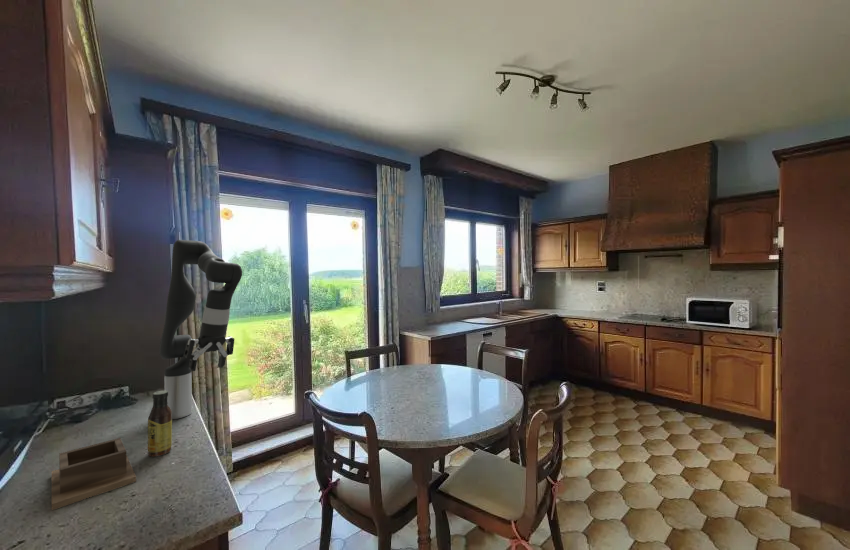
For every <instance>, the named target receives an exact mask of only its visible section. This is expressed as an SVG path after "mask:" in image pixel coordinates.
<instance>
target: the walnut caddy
mask: <svg viewBox="0 0 850 550" xmlns="http://www.w3.org/2000/svg"><path fill="white" fill-rule="evenodd" d="M58 460H59V461H58V462H59V463H58V464H59V466H58V467H59V468H58V469H55V470H51V511H54V510H56V509H60V508H62V507H66V506H69V505H72V504H74V503H78V502H81V501H84V500H87V499H89V497H90V498H92V496H93V497H96V496H98V495H101V494H105V493H107V492H110V491H114V490H115V489H118V488H121V487H125V486H128V485H131V484H133V482H134V483H136V482H137V475H136V474H135V471H134V469H133V466H132V464H131V462H130V460H129V457H128V455H127V450H126V448H125V445H124V443H123V441H122V438H121V437H118V438H114V439H110V440H106V441H102V442H99V443H95V444H94V443H93V444H90V445H87V446H84V447H79V448H75V449H71V450H67V451H63V452H60V453H59V458H58ZM86 498H87V499H86ZM83 499H84V500H83Z"/></svg>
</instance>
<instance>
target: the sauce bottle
mask: <svg viewBox="0 0 850 550" xmlns="http://www.w3.org/2000/svg"><path fill="white" fill-rule="evenodd" d="M167 397H168V391H166V390H165V389H163V390H157V391H155V392H152V399H153V400H152V402H153V404H152V408H151V410H150V412H149V416H148V419H147V453H148V456H149V457H153V458H155V457H160V456H163V455H166V454H168V453H170V452H171V449H172V443H173V441H172V440H173V419H172V411H171V409H170V407H169V406H168V405H167V404H168V402H167Z"/></svg>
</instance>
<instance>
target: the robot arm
mask: <svg viewBox="0 0 850 550" xmlns="http://www.w3.org/2000/svg"><path fill="white" fill-rule="evenodd" d="M185 265H197V266H198V269H199V270H200V271H202V272H203V273H204V274H205V278H206V280H207V281H209V282H211V283H215V284H216V283H218V284H219V283H220V284H224V285H223V286H222V287H219V288H215V289H210V290H209V291H208V293H207V298H206V303H205V308H204V311H203V314H202V319H201V325H200V330H199V337H198V338H196V339H195V338H194V339H193V338H192V336H191V335H190V334H180V335H179V334H177V335H176V332H177V330H178V329H179V328H180V326H181V325H182V324H183V323H185V321H186V320H187V319H188V318H189V317H190V316H191V315H192V314H193V312H194V310H195V305H196V298H197V294H196V291H195V289H194V287H193V286H192V285H191V283H190V281H189V280H188V278H187V276H186V275H185V272H184V268H185V267H184V266H185ZM242 269H243V268H242V267H241V265H240V264H238V263H234V262H227V261H225V260H224V259H223V258H221V257H220V256H217V255H216V254H215V252H213V251H212V249H211V248H210V246H209V245H208V244H207V243H205V242H204V241H200V240H191V239H190V240H188V239H187V240H185V239H177V240H176V241H175V242H174V244H173V248H172V256H171V275H170V282H169V289H168V293H167V294H168V295H167V301H166V308H165V309H166V311H165V318H164V319H165V321H164V325H163V329H162V334H161V338H160V343H159V355H160V357H161V359H162V360H170V359H171V360H172V359H178V358H179V360H178V361H176V362H175V363H173V364H171V365H169V366H167V367H165V368H164V372H163V373H164V374H163V375H164V381H163V382H164V390H166V391H168V397H167V402H168V404H167V405H168V406H169V407H170V409H171V411H172V420H177V419H181V418H185V417H187V416H189V415H192V411H193V410H192V405H193V404H192V403H193V401H192V397H193V395H192V394H193V393H192V385H193V384H192V375H193V374H192V372H195V371H196V370H197V364H198V359H199V358H200V356H202V355H203V354H204V353H205V352H206V353H211V352H218V353H219V354H220V355H219V357H218V360H217V361H218V362H217V367H218V368H219V369H221V368H224V366H225V365H226V360H227V357H228V356H232V355H233V354H234V348H235V347H234V346H235V338H234V337H233V336H227V331H228V324H229V321H230V310H231V304H232V300H233V299H232V298H233V296H234V293H235V291H236V290H237V287H238V285H239V284H240V282H241V280H242V277H243V270H242ZM226 336H227V337H226ZM196 344H198V345H197V346H196ZM224 344H226V347H225V348H226V349H225V348H224V346H223V345H224ZM195 346H196V348H195ZM194 348H195V349H194Z"/></svg>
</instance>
